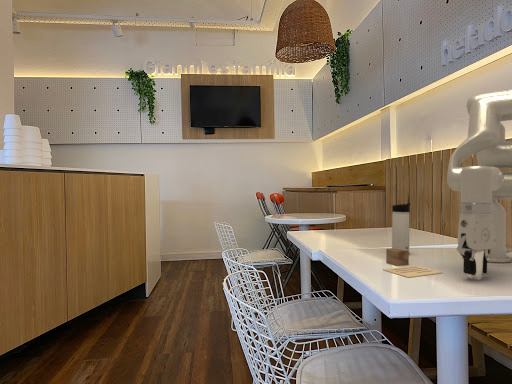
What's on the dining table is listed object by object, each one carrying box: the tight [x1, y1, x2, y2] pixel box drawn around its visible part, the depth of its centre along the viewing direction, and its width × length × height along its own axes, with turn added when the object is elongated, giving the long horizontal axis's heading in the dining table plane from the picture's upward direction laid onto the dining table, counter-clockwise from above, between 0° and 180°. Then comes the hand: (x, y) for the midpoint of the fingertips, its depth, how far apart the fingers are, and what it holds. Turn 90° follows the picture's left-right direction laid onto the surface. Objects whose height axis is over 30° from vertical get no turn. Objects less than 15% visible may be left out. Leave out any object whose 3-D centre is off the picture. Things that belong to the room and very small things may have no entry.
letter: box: [382, 265, 444, 279], centre depth 104 cm, size 14×10×1 cm
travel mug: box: [391, 203, 411, 251], centre depth 133 cm, size 6×7×20 cm
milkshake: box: [467, 247, 484, 281], centre depth 96 cm, size 4×5×10 cm
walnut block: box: [385, 247, 410, 267], centre depth 115 cm, size 5×5×5 cm
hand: (475, 272), depth 96 cm, fingers closed on milkshake, 4 cm apart
